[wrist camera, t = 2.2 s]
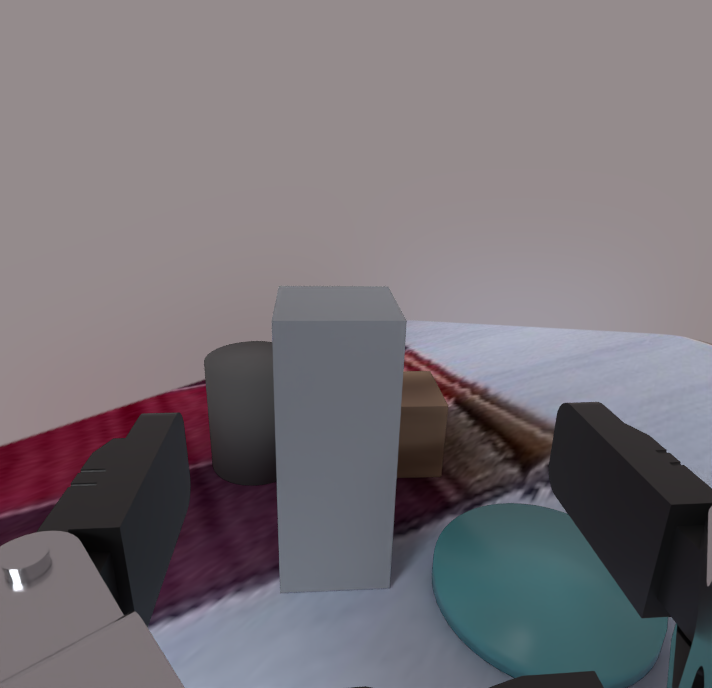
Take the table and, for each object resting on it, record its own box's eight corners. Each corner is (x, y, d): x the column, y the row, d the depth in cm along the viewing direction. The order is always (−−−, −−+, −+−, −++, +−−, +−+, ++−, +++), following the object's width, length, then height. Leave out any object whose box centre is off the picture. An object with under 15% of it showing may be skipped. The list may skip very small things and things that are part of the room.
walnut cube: (441, 478, 33) (448, 406, 31) (360, 480, 32) (363, 407, 31) (424, 435, 38) (430, 371, 36) (354, 437, 37) (356, 371, 35)
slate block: (389, 588, 24) (406, 320, 20) (280, 593, 24) (271, 320, 19) (376, 516, 29) (388, 286, 25) (284, 519, 29) (279, 286, 24)
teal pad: (641, 751, 18) (647, 732, 18) (392, 608, 23) (393, 590, 23) (675, 573, 26) (680, 557, 25) (481, 495, 31) (483, 481, 31)
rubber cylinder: (257, 497, 30) (253, 388, 28) (193, 463, 33) (183, 361, 31) (318, 454, 35) (319, 355, 32) (257, 427, 38) (253, 335, 35)
